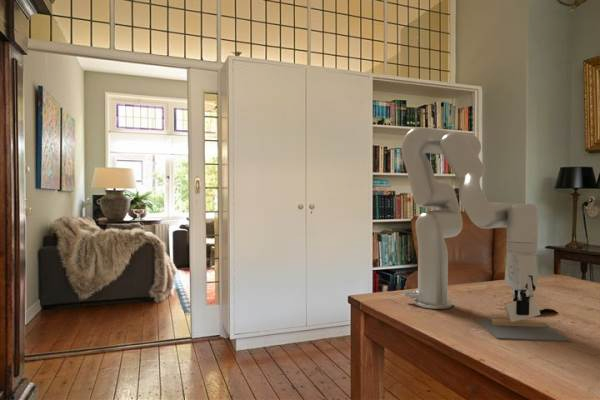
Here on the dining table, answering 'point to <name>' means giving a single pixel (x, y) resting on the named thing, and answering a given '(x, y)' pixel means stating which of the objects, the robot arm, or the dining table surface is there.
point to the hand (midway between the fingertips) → (521, 313)
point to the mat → (522, 330)
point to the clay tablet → (544, 308)
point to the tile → (514, 317)
